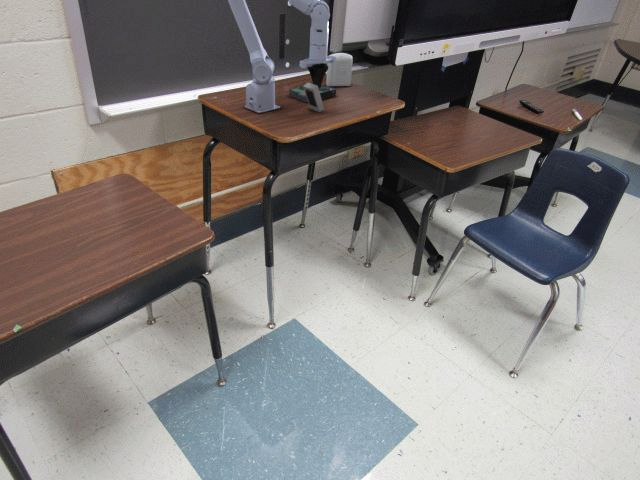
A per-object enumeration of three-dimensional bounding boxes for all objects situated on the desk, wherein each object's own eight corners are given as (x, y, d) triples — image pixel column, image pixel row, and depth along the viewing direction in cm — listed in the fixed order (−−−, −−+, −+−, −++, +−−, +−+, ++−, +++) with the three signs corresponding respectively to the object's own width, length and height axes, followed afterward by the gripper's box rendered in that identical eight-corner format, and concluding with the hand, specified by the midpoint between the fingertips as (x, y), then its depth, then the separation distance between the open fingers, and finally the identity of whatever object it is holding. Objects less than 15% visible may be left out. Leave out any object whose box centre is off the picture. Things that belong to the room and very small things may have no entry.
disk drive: (316, 90, 176) (288, 96, 167) (317, 82, 174) (288, 88, 165) (336, 96, 170) (307, 103, 161) (336, 89, 168) (308, 95, 159)
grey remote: (319, 112, 153) (312, 89, 146) (309, 109, 156) (302, 86, 149) (324, 108, 154) (317, 85, 147) (314, 105, 156) (307, 82, 150)
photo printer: (348, 83, 186) (350, 51, 179) (352, 86, 182) (354, 54, 176) (324, 84, 183) (326, 52, 176) (328, 87, 179) (330, 54, 172)
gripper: (311, 48, 136) (309, 94, 144) (343, 44, 145) (340, 87, 153) (295, 44, 140) (294, 89, 148) (327, 40, 149) (325, 82, 157)
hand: (316, 87), depth 150 cm, fingers closed
